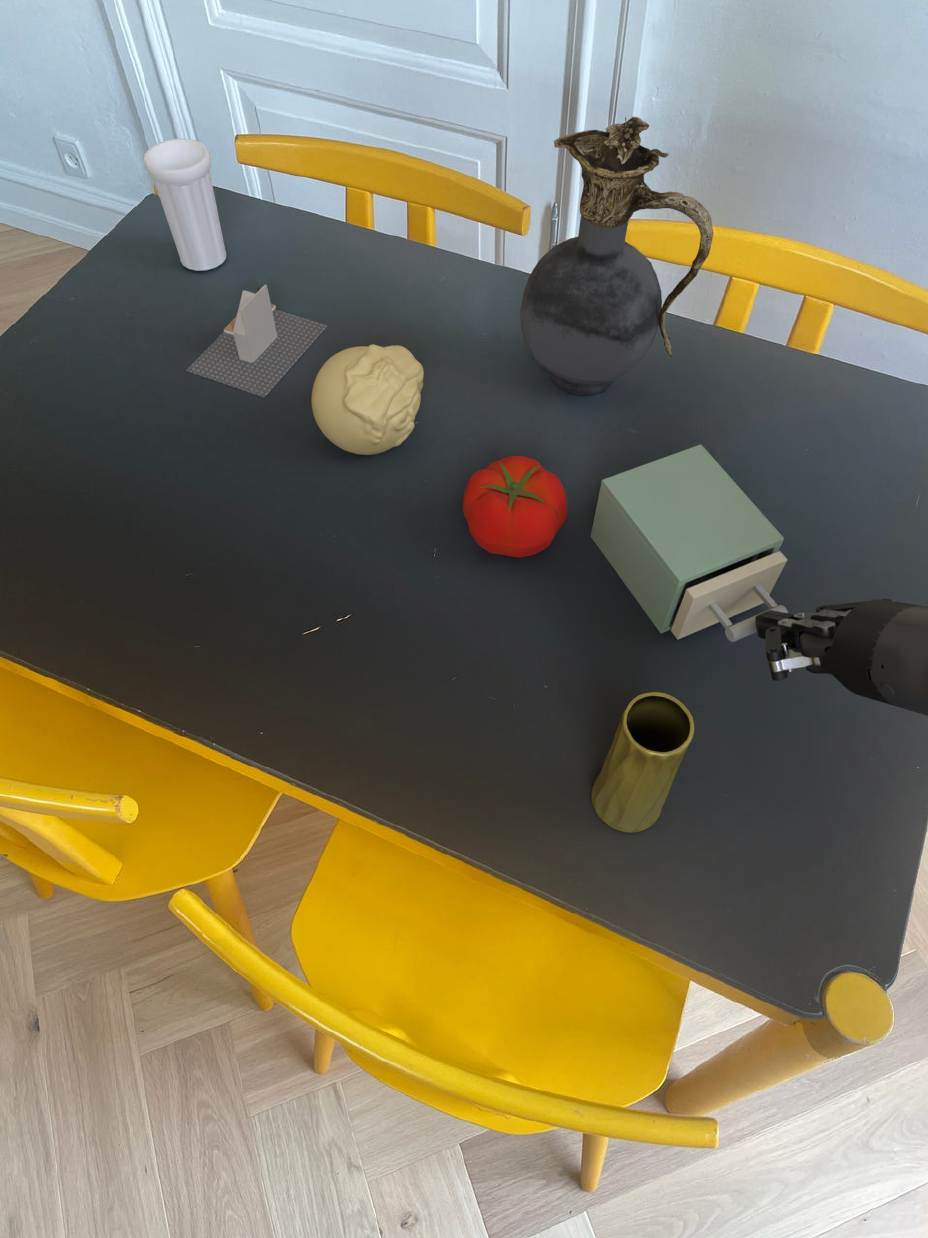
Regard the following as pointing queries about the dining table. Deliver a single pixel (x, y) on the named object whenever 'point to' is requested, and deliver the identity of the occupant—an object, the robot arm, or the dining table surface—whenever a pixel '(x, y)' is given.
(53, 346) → the dining table surface
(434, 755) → the dining table surface
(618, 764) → the vase
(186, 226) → the cup
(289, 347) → the architectural model
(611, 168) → the pitcher
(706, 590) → the drawer
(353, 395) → the sculpture
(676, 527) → the cabinet
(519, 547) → the tomato
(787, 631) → the robot arm
